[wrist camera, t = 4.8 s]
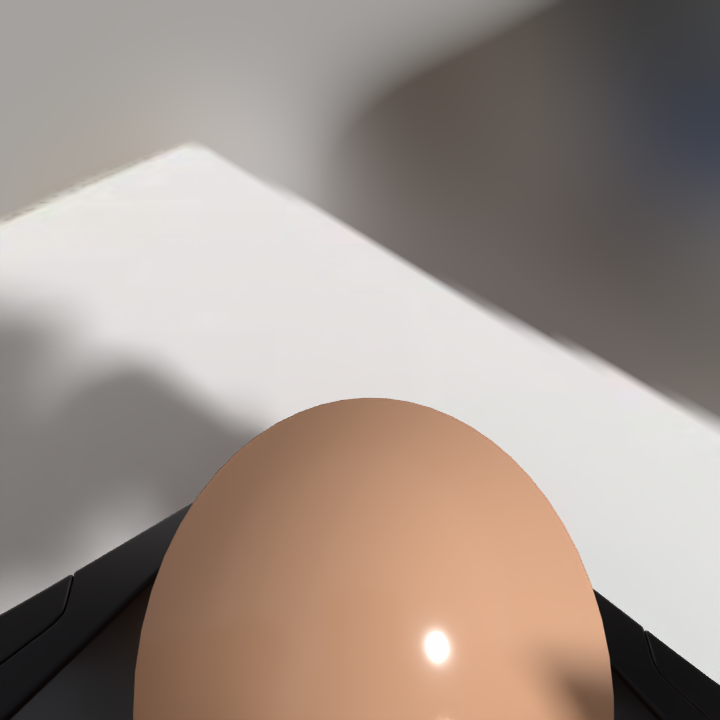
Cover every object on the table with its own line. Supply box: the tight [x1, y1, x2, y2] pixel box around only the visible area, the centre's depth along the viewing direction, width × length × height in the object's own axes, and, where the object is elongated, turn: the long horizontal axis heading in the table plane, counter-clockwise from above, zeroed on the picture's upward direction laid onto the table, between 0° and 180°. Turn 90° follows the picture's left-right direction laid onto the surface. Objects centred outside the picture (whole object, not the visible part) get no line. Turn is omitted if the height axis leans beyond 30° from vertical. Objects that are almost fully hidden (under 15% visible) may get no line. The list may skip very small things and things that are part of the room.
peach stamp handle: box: [133, 398, 614, 720], centre depth 8 cm, size 4×4×10 cm
